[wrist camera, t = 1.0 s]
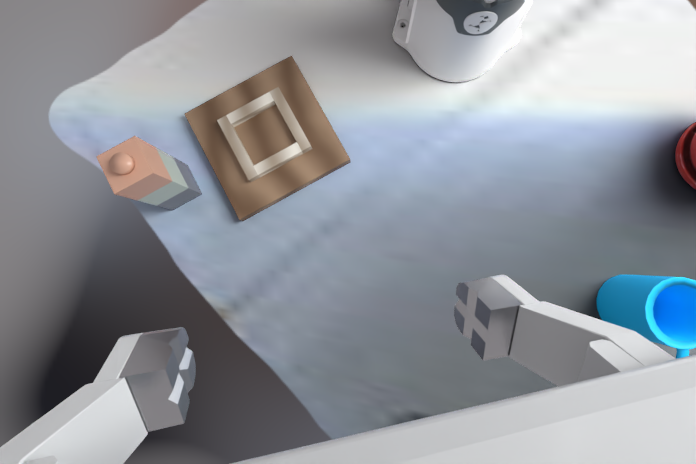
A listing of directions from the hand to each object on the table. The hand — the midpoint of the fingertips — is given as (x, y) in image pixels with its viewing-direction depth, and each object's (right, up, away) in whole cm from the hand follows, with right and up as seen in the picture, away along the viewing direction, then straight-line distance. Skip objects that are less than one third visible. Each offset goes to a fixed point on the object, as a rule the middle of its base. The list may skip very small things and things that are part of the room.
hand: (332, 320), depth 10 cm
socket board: (-11, +16, +41) cm, 45 cm away
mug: (+39, -9, +37) cm, 55 cm away
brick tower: (-25, +9, +41) cm, 48 cm away
